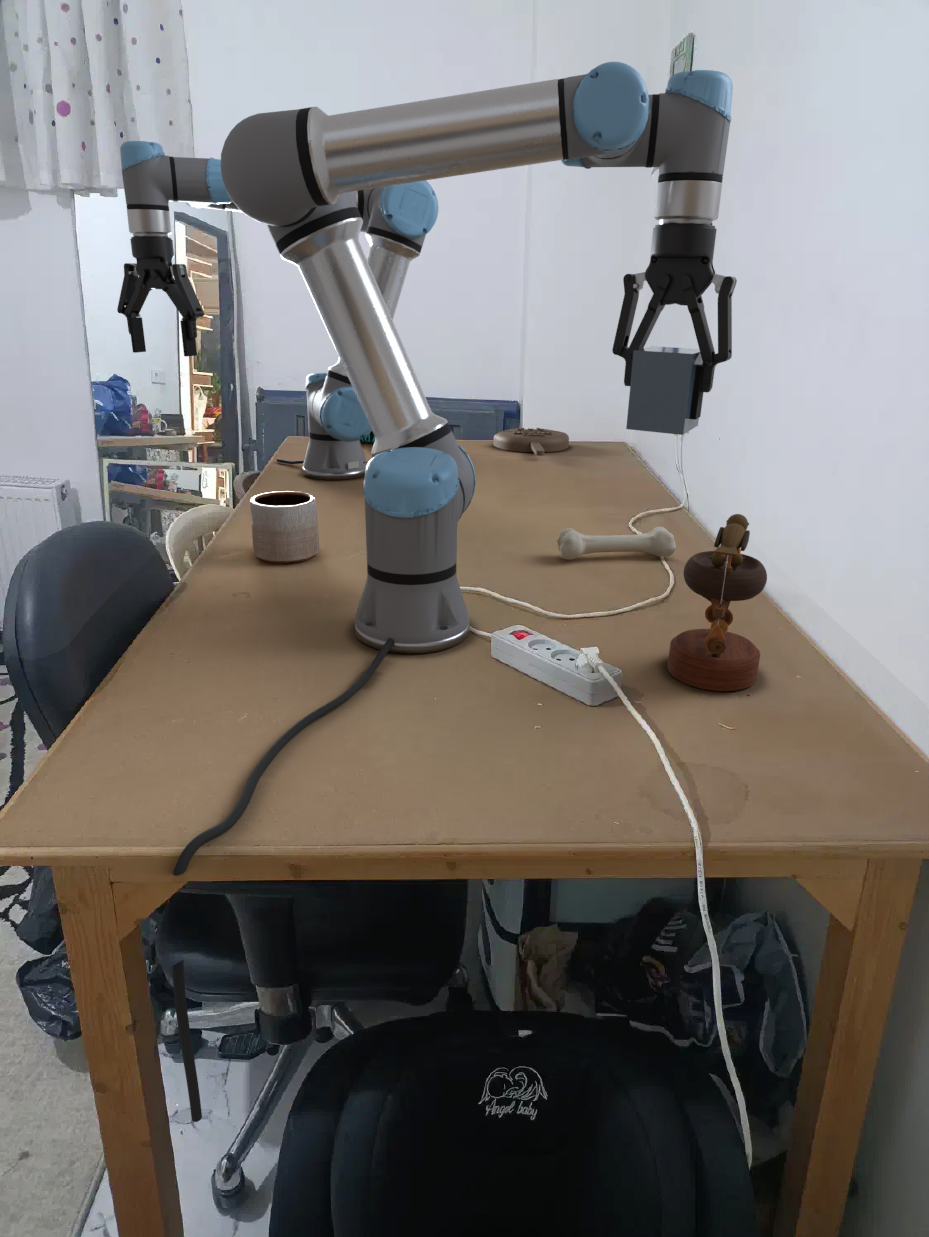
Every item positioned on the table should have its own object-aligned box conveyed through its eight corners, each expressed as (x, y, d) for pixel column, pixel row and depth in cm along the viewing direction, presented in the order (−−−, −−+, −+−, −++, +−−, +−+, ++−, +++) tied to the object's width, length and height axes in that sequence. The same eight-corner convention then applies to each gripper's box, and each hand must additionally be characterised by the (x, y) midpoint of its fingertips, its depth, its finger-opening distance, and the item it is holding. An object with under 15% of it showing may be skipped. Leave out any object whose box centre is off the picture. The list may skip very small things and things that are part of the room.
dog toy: (664, 549, 148) (667, 521, 146) (677, 560, 143) (680, 531, 141) (552, 553, 145) (554, 525, 143) (561, 564, 139) (563, 535, 138)
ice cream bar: (499, 460, 215) (500, 444, 214) (491, 440, 241) (491, 425, 240) (581, 461, 216) (582, 444, 215) (564, 441, 242) (565, 426, 241)
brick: (697, 425, 114) (707, 349, 110) (683, 435, 107) (692, 354, 103) (643, 420, 117) (651, 346, 113) (626, 429, 110) (633, 350, 106)
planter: (251, 547, 145) (246, 492, 142) (314, 542, 148) (311, 489, 145) (256, 567, 136) (251, 509, 132) (324, 561, 139) (321, 504, 135)
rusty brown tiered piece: (773, 700, 96) (786, 530, 88) (674, 701, 97) (678, 534, 90) (747, 645, 110) (756, 494, 102) (660, 647, 111) (663, 498, 104)
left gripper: (216, 236, 156) (226, 356, 165) (119, 237, 167) (133, 349, 175) (186, 235, 150) (199, 359, 158) (87, 235, 161) (104, 351, 169)
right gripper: (777, 225, 101) (748, 418, 110) (614, 225, 110) (599, 404, 118) (767, 221, 95) (737, 426, 104) (595, 221, 103) (581, 411, 112)
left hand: (164, 354), depth 167 cm, fingers open, 13 cm apart
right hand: (664, 414), depth 111 cm, fingers closed on brick, 7 cm apart
